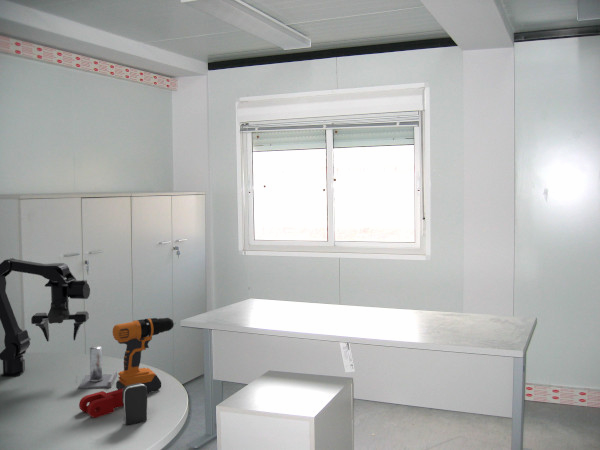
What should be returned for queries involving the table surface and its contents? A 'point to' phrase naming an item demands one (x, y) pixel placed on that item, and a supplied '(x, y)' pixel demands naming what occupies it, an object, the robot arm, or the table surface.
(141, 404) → the battery charger
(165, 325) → the power drill
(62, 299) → the robot arm
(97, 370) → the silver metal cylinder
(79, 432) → the table surface
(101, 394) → the mechanical linkage
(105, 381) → the bracket
